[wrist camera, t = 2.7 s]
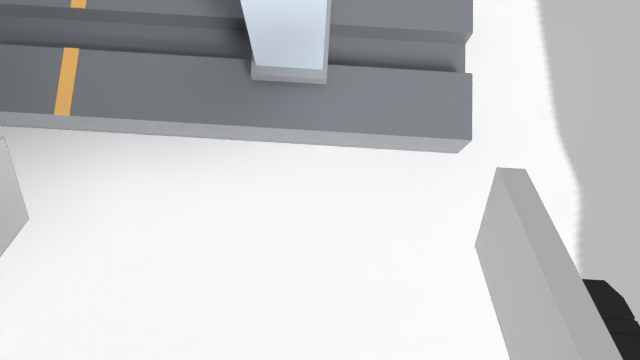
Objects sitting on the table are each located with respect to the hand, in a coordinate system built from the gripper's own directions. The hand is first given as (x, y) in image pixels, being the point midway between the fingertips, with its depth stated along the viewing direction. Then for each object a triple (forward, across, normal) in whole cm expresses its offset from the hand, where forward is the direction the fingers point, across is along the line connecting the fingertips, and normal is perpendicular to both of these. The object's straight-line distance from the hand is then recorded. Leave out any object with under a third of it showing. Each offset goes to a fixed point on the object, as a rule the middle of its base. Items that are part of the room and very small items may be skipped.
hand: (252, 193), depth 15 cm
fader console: (+19, -4, -4) cm, 20 cm away
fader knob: (+18, 0, -3) cm, 18 cm away
